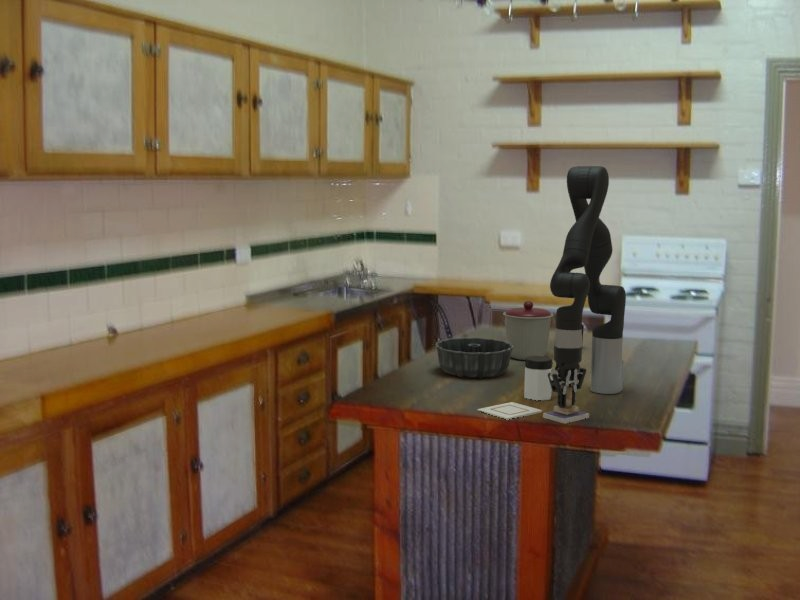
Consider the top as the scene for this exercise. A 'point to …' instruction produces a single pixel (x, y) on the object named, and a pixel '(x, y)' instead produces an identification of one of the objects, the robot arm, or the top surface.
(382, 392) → the top surface
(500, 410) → the sheet
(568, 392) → the stamp
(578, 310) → the robot arm
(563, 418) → the ink pad
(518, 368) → the top surface
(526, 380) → the jar
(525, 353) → the canister
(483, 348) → the bundt pan
